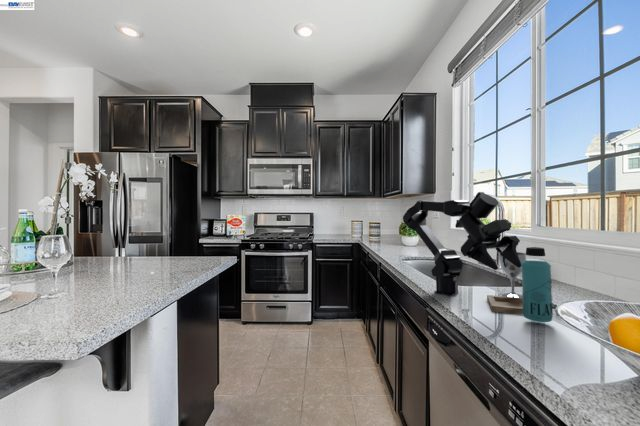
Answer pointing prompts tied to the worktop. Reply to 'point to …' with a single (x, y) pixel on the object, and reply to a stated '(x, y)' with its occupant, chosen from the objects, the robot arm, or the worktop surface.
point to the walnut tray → (505, 304)
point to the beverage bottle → (536, 287)
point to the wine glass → (511, 272)
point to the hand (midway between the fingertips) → (508, 267)
